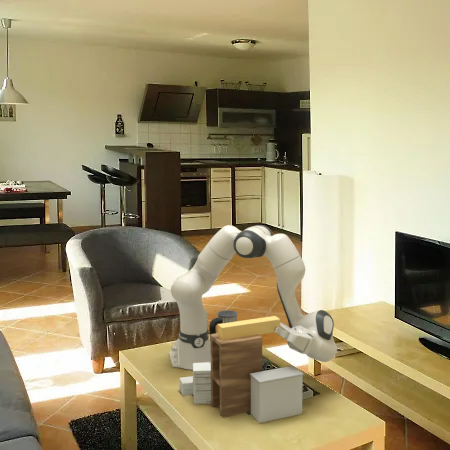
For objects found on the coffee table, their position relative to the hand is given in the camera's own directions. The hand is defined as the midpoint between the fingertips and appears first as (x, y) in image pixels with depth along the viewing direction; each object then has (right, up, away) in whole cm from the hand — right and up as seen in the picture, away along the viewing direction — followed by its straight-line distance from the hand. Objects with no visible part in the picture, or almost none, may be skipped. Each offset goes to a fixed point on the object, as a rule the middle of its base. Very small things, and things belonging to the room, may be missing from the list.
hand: (269, 324), depth 207 cm
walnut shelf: (-12, -29, 0) cm, 31 cm away
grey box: (+2, -29, -5) cm, 30 cm away
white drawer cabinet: (-23, -28, +6) cm, 37 cm away
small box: (-29, -27, +12) cm, 41 cm away
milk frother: (-13, -20, +54) cm, 59 cm away
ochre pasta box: (-7, -3, -3) cm, 8 cm away
